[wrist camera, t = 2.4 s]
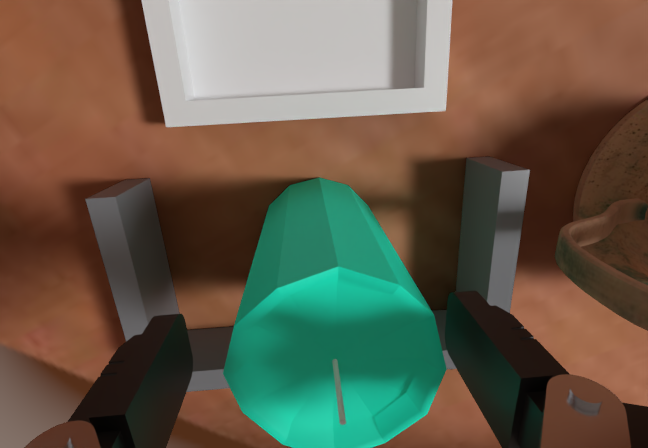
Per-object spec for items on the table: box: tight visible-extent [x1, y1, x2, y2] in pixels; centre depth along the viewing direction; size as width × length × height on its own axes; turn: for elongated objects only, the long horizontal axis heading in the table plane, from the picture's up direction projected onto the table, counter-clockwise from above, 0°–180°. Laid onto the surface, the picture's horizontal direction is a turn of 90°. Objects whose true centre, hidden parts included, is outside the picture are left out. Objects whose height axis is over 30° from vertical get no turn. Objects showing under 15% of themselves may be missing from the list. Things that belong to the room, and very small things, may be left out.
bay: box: [85, 157, 530, 392], centre depth 18 cm, size 18×10×4 cm, turn 93°
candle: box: [223, 178, 446, 448], centre depth 14 cm, size 6×6×12 cm
